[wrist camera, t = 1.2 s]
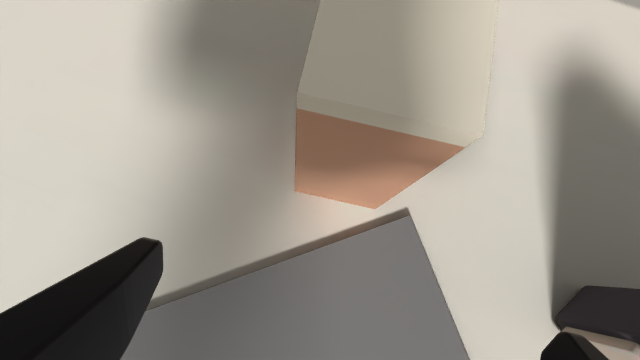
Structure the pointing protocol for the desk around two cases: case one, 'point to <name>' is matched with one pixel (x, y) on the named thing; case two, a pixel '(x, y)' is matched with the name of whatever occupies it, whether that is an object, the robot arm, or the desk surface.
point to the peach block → (390, 93)
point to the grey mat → (314, 308)
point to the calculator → (606, 320)
